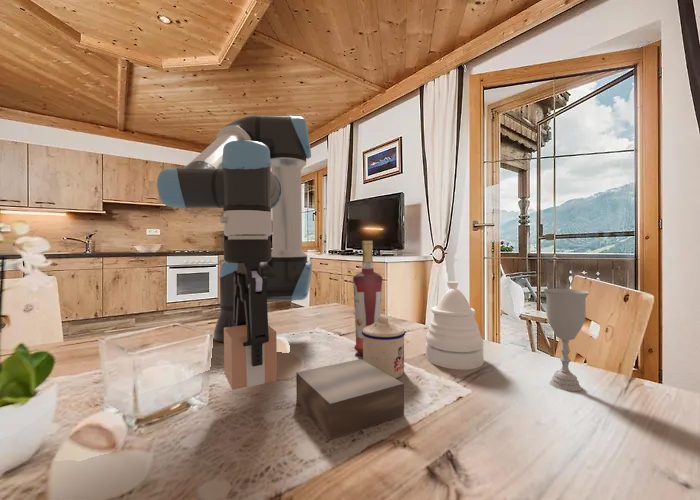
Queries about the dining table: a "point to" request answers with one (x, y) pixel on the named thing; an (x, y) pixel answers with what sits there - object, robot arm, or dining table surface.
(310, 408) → the plinth
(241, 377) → the terracotta block
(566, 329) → the chalice
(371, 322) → the liquor
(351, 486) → the dining table surface
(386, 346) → the teacup with lid
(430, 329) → the honey pot
